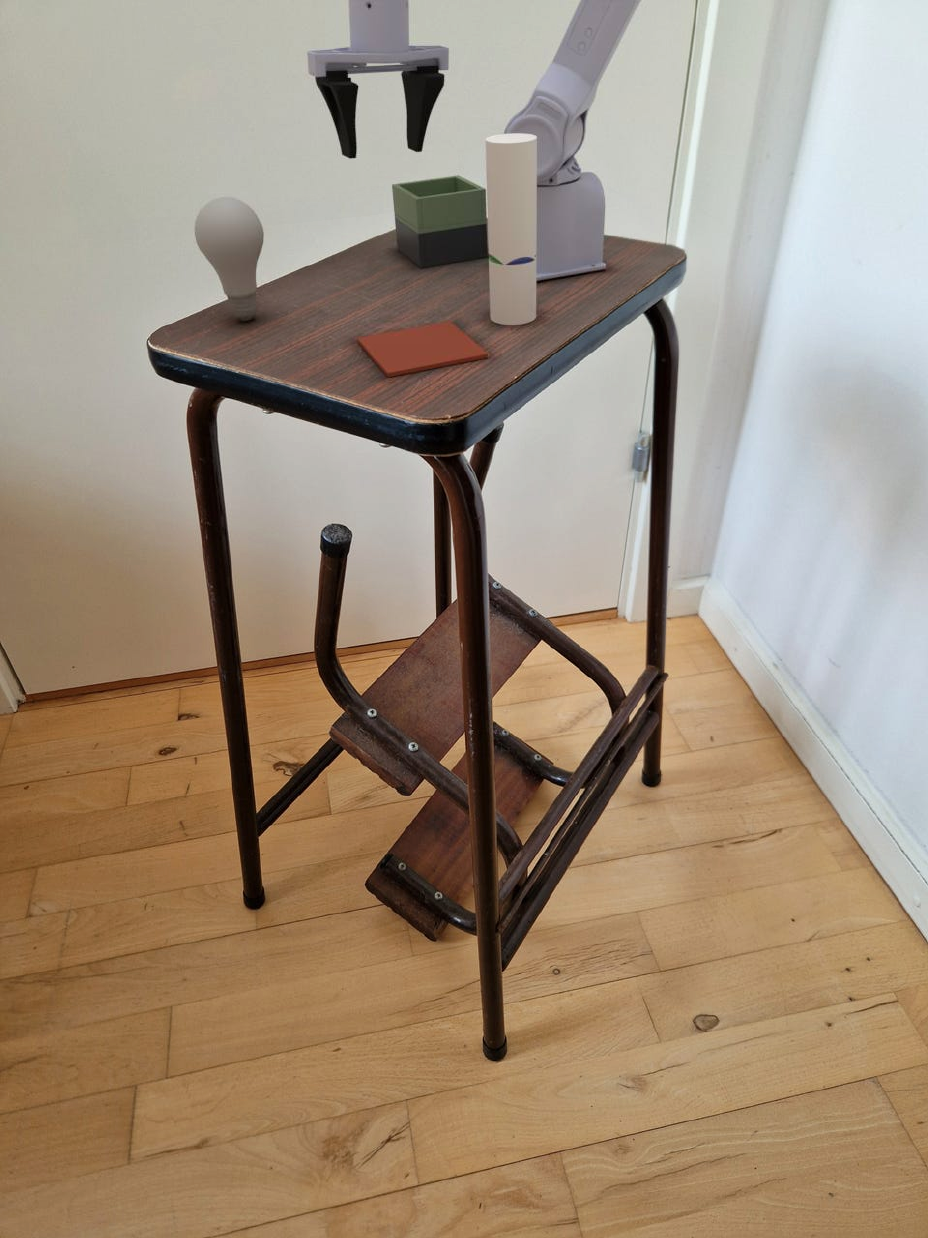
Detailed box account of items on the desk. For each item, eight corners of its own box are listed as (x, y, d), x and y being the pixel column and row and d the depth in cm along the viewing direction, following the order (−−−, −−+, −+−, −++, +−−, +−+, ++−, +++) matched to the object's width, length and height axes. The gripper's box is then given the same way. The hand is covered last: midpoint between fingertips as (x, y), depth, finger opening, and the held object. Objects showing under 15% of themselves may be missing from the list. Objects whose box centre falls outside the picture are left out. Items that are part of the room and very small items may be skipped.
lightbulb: (264, 332, 83) (240, 206, 76) (204, 330, 84) (175, 206, 77) (287, 310, 88) (267, 189, 81) (229, 308, 89) (205, 189, 82)
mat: (450, 324, 82) (449, 320, 82) (488, 357, 75) (487, 353, 75) (357, 342, 80) (356, 337, 79) (388, 377, 73) (387, 372, 73)
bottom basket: (461, 239, 104) (460, 207, 102) (487, 256, 99) (487, 223, 96) (397, 249, 102) (394, 217, 100) (420, 268, 96) (418, 234, 94)
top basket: (460, 207, 102) (458, 174, 100) (487, 223, 96) (486, 188, 94) (394, 217, 100) (391, 184, 98) (418, 234, 94) (415, 198, 92)
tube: (500, 307, 85) (496, 132, 76) (542, 311, 84) (543, 133, 75) (483, 322, 82) (477, 142, 73) (527, 327, 81) (526, 143, 71)
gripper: (425, -11, 89) (425, 139, 98) (290, -9, 83) (303, 150, 92) (460, -4, 85) (457, 153, 93) (320, -2, 79) (330, 165, 87)
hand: (382, 153), depth 92 cm, fingers open, 7 cm apart
